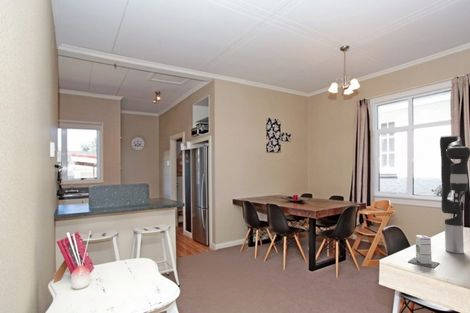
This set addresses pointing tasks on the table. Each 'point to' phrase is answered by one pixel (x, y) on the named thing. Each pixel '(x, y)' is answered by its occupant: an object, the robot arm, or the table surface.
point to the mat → (424, 264)
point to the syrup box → (423, 249)
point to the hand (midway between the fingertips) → (459, 211)
